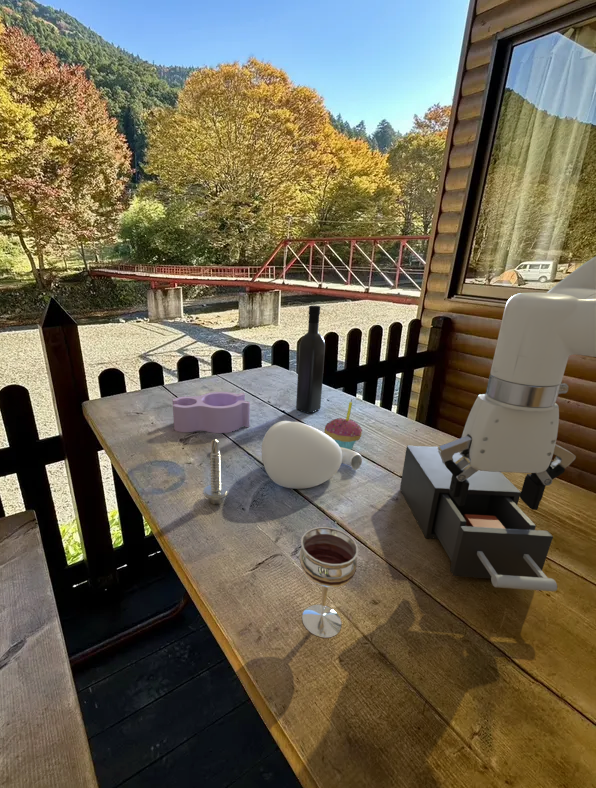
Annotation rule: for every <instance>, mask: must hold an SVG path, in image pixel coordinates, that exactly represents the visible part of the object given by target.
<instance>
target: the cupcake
mask: <svg viewBox="0 0 596 788" xmlns="http://www.w3.org/2000/svg"><path fill="white" fill-rule="evenodd" d="M352 406H353V398H351V399H350V401H349V402H348V407H347V413H346V417H345V418H343V417H338V418H334V419H332V420H330V421H328V422H327V423H326V425H325V427H324V432H323V433H325V434H326V435H328V436H329V437H331V438H332V439H333V440H334V441H335V442H336V443H337V444H338V445H339V447H342V448H346V449H350V450H353V446H354V445H355V443H356V442H357V441H360V439H361V437H362V432H363V429H362V427H361V425H360V424H359V423H358V422H356V421H354V420H352V419H350V416H351V412H352Z"/></svg>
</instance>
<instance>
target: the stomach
mask: <svg viewBox="0 0 596 788" xmlns="http://www.w3.org/2000/svg"><path fill="white" fill-rule="evenodd" d="M260 449H261V450H260V452H261V453H260V454H261V459H262V463H263V467H264V469H265V472H266V474H267V475H268V477H269V478H270V480H272V482H274V483H275V484H276V485H278V486H280V487H282V488H287V489H295V490H296V489H298V490H301V489H309V488H313V487H317V486H319V485H321V484H324V483H326V482H327V481H329V480H330V479H332V478H333V477H334V476H335V475H336V473H338V471H339V469H341V465H342V464H343V465H346V466H349V467H351V469H352V471H353V470H354V471H357V470H359V469H360V468H361V466H362V465H363V458H362V455H361V454H360V453H359V452H357V451H354V450H353V449H351V450H350V449H346V448H342V447H339V445H338V444H337V443H336V442H335V441H334V440H333V439H332V438H331V437H329V436H328V435H326V434H325V433H324V432H323V431H322V430H320V429H318V428H316V427H314V426H311V425H309V424H306V423H304V422H299V421H290V420H280V421H278V422H276V423H274V424H273V425H271V426H270V427H269V429H267V431H266V433H265V434H264V437H263V440H262V443H261V448H260Z"/></svg>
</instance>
